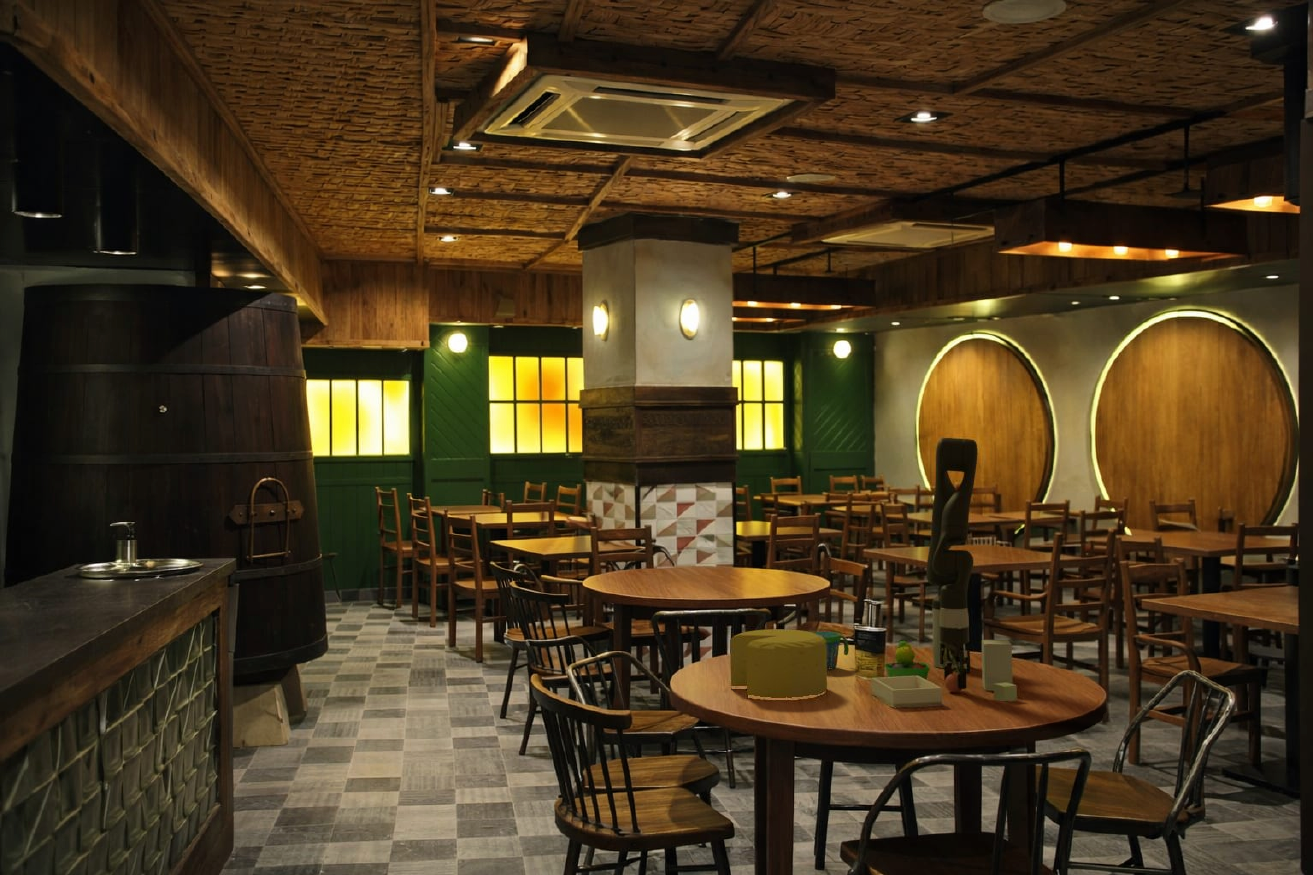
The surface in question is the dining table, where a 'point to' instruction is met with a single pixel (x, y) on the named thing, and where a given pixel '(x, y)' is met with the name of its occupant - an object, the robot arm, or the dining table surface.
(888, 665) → the fruit basket
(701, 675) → the dining table surface
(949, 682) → the ball
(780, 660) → the cheese
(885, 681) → the bin
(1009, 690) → the green block
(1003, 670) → the supplement box
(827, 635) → the snack cup
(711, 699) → the dining table surface
